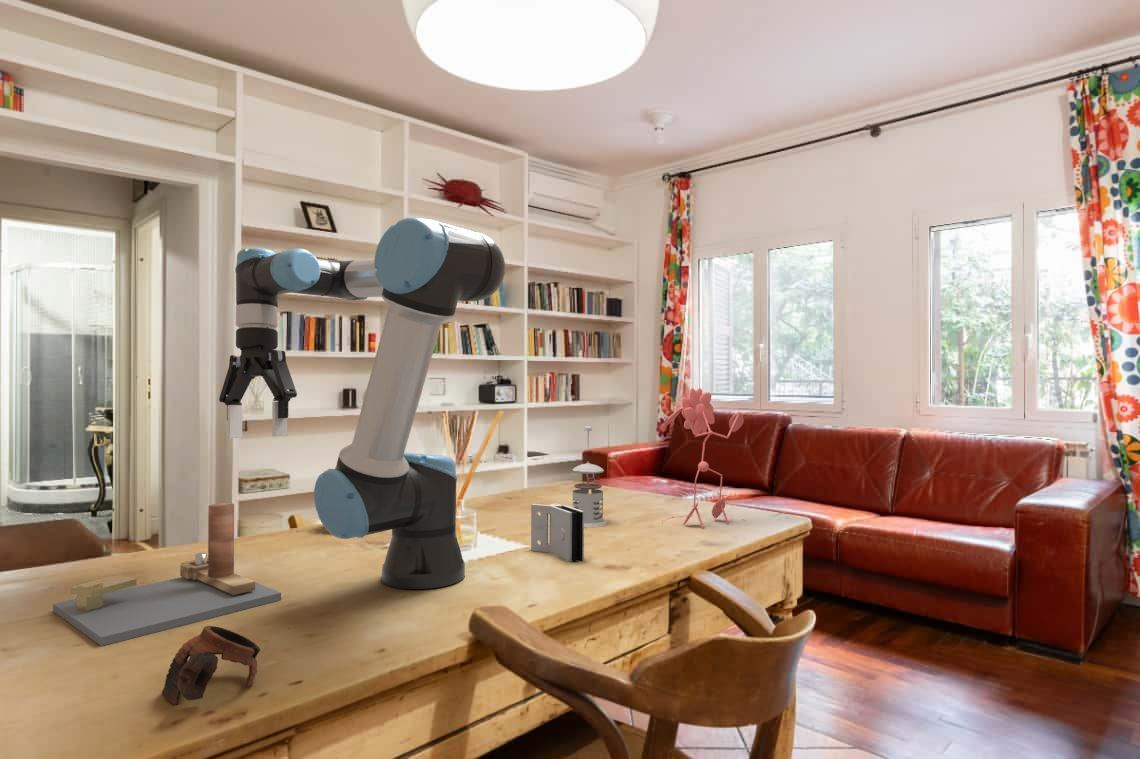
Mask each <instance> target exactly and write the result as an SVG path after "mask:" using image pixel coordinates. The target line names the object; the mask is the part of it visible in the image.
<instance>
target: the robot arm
mask: <svg viewBox="0 0 1140 759" xmlns="http://www.w3.org/2000/svg"><path fill="white" fill-rule="evenodd" d="M234 271H235V272H234V273H235V300H236V301H235V304H236V305H235V326H236V327H237V329H236V330H235V347H236V348H237V349H240V352H241V353H240V355H234V354H232V355H230V356H229V364H228V368H227V372H226V375H225V378H224V382H223V385H222V388H221V391H220V395H219V398H218V400H219V402H220V403H224V404H225V406H226V422H227V429H226V430H227V432H226V433H227V435H226V436H227V439H241V438H243V403H242V402H241V401H242V399H243V397H244V396H245V394H246V392H247V389H248V387H249V385H250V384H251V381H252V380H255V378H256V377H262V378H263V381H264V382H265V383H266V386H267V387H268V388H269V391H270V392H271V393H272V396H273V399H272V403H271V404H272V406H271V407H272V411H271V412H272V413H271V415H272V417H271V419H272V420H271V421H272V422H271V423H272V425H271V427H272V428H271V430H272V431H271V432H272V433H271V434H272V437H287V436H288V418H289V402H290V401H291V400H292V398H296V397H297V396H298V392H297V389H296V387H295V384H294V381H293V378H292V376H291V373H290V370H289V366H288V364H287V357H286V352H285V350H279V349H277V348H278V346H279V333H278V330H277V329H276V328H278V325H279V324H278V307H279V306H278V304H279V301H278V300H279V299H278V297H279V296H281V295H285V294H299V295H300V294H302V295H309V296H317V297H328V298H336V299H344V300H346V301H365V300H368V298H377V297H378V298H379V297H381V298H382V300H383V301H384V304H386V306H387V311H386V316H385V319H384V320H385V321H384V323H383V326H382V327H383V328H382V331H381V335H380V338H379V342H378V346H377V348H376V352H375V353H376V354H375V357H374V360H373V364H372V368H371V372H370V376H369V379H368V382H367V387H366V390H365V395H364V398H363V401H362V406H361V410H360V413H359V417H358V420H357V424H356V428H355V431H354V435H353V437H352V438H353V439H352V443H350V444H349V445H347V446H345V447H343V448H342V449H341V450H339V453H338V454H339V455H338V458H337V461H336V464H335V465H336V466H335V468H328V469H327V470H324V471H323V472H322V473H320V474H319V475H318V477H317V479H316V481H315V484H314V490H313V498H314V499H313V501H314V507H315V510H316V512H317V515H318V518H319V521H320V522H321V524H322V526H323V527H324V528H325V530H326V531H327V532H328V533H329V534H331V536H334V537H336V538H338V539H342V540H347V539H353V538H360V539H361V538H364V537H365V536H370V535H372V534H378V533H383V532H386V531H390V530H391V538H390V542H389V546H388V549H387V552H386V556H385V560H384V563H383V564H382V567H381V581H382V583H383V584H384V585H386V586H388V587H392V588H396V589H397V588H398V589H404V590H405V589H407V590H428V589H435V588H442V587H448V586H452V585H454V584H456V583H458V582H460V581H462V580H463V579H465V577H466V563H465V560H464V559H463V555H462V554H463V553H462V552H461V548H460V544H459V542H458V538H457V535H456V534H457V533H456V532H457V530H456V525H457V524H456V522H457V520H456V519H457V481H458V477H457V470H456V463H455V461H454V459H453V458H452V457H450V456H446V455H436V454H435V455H434V454H426V453H425V454H424V453H410V452H406V448H407V444H408V441H409V437H410V435H411V434H410V433H411V430H412V426H413V424H414V420H415V416H416V413H417V409H418V407H419V402H420V399H421V396H422V392H423V388H424V387H425V386H424V385H425V382H426V379H427V374H428V371H429V369H430V364H431V361H432V358H433V354H434V350H435V349H436V348H435V347H436V344H437V341H438V336H439V334H440V330H441V326H442V324H443V323H445V322H446V321H448V320H451V319H452V318H454V316H455V312H456V308H457V305H458V302H460V301H461V302H479V301H483V300H485V299H487V298H489V297H491V296H493V295H494V294H495V293H496V292H497V291H498V289H499V288H500V287H501V285H502V283H503V281H504V278H505V273H506V272H505V271H506V263H505V257H504V255H503V252H502V251H501V248H500V247H499V246H498V244H496V242H495V241H494V240H493V239H492V238H490V237H489V236H487V235H485V234H484V233H481V232H478V231H474V230H469V229H465V228H461V227H458V226H455V225H451V224H447V223H443V222H440V221H437V220H434V219H430V218H422V217H421V218H420V217H406V218H402V219H400V220H398V221H397V222H396V223H395V224H392V225H390V226H389V228H388V229H387V230H386V231H385V232H384V233H383V234H382V236H381V238H380V240H379V242H378V245H377V246H376V249H375V254H374V257H373V258H363V259H362V258H361V259H355V260H336V259H329V258H324V257H319V256H315V255H314V254H313V253H311V252H310V251H309V250H307V249H304V248H293V249H292V248H290V249H286V250H282V251H280V252H278V253H275V252H274V250H271V249H268V248H259V247H251V248H242V249H241V250H239V251H238V252H237V255H236V265H235V270H234ZM276 349H277V350H276Z"/></svg>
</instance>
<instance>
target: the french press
mask: <svg viewBox="0 0 1140 759" xmlns="http://www.w3.org/2000/svg"><path fill="white" fill-rule="evenodd" d="M592 428H593V427H591V426H590V425H586V426H585V427H584V431H587V447H589V436H590V435H589V434H590V431H593V430H592ZM571 471H573V472H574V473H575V474H583V475H586V478H587V479H586V480H587V482H586V483H585V482H583V483H582V482H581V483H580V482H579V483H576V484H573V486H574V488H575V490H572V507H573V508H576V509H579V510H582V511H584V528H599V527H603V526H606V525H607V524H608V523H607V522H606V520H605V519H604V491H603V490H601V488H603V486H602V484H600V483H596V479H595V474H601V473H604V472H605V470H604V468H602V467H601V466H599V465H597V464H593V463H590V462H586V463H582V464H579V465H577V466H575V467H573V469H572V470H571ZM589 474H590V475H592V477H589ZM591 479H593V483H590V480H591ZM589 491H591V492H590V493H589Z"/></svg>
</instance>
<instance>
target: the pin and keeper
mask: <svg viewBox="0 0 1140 759" xmlns="http://www.w3.org/2000/svg"><path fill="white" fill-rule="evenodd" d="M194 558H195V559H194V560H195V566H199V565H204V564H207V558H208V552H199V553H196V554H195V556H194ZM137 583H138V581H137V578H133V577H129V576H123V575H120V574H119V575H118V574H116V575H112V576H108V577H104V578H99V579H97V580H91V581H88V582H84V583H79V584H77V585H73V586H71V587H70V593H71V594H72V595H76V599H77V610H80V611H84V612H88V611H92V610H95V609H98V608H102V607H103V594H106V593H110V592H113V591H117V590H122V589H127V588H132V587H136V586H137Z"/></svg>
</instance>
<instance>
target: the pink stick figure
mask: <svg viewBox="0 0 1140 759" xmlns="http://www.w3.org/2000/svg"><path fill="white" fill-rule="evenodd" d="M711 400H712V393H710V392H704V393H703V390H702V388H701V387H699V388H697V389H695V388H694V387H691V388H690V389H689V392H688V397H682V400H681V402H682V406H681V407H679V408H678V409H676V410H675V411H674V412H673V413H672V414H671V415H669V417H668V418H667V419H666V420H665V422H663V424H662V426H660V430H662V429H664V428H666V427H667V426H668V425H669V424H671V423H672V422H673V421H674V420H675V419H676V418H677V417H678V415H679V414H680V413H681V415H682V417H683V418H684V419H685V421H684V424H683V428H684V429H686V430H691V432H692V435H694V438H697V437H701V436H705V435H707V436H706V437H705V438H704V439H703V442H702V452H701V461H700V462H699V463H698V464H697V469H698V470H697V472H696V475H695V479H694V487H693V488H694V490H693V492H694V493H693V494H694V496H693V504H692V508H691V509H690V512H689V513H688V514H687V515H686V518H685V520H684V522H683V525H684V526H685V525H686V524H687V522H688V521H689V520H690V518H691V517H693V516H694V515H693V514H694V513H695V512H696V516H697V518H698V521H699V523H700V526H701V529H705V526H704V522H703V521H702V518H701V515H700V512H699V510H698V506H699V503H698V502H696V497H697V496H696V495H697V494H696V492H697V479H698V476H699V473H700V472H702V473H705V472H708V471H710V472H712V473H714V474H717V475H719V476H720V484H719V497H718V500H717V501H716V502H715V503H714V505H713V507H712V509H711V515H712V516H713V518H714V519H717V518H718V517H719V516H721V514H723V517H724V519H725V520H724V521H725V524H726V525H729V524H730V522H729V519H728V517H727V514H726V512H725V509H726V502H725V501H726V500H724V499H722V488H723V487H722V486H723V474H721V473H719V472H717V471H715V470H713V469H711V468H710V465H709V463H708V462H707V461H705V460H704V457H705V450H706V449H705V448H706V442H707V441H708V439H709V438H710V436H712V435H715V436H718V437H721V438H724V439H727V440H728V439H729V438H730V437H731V434H732V432H733V433H736V432H737V431H738V430H739V429H740V428H741V427H742V426H743V425H744V423H745V422H744V421H745V419H744V415H743V414H742V413H741V412H740V411H738V412H736V413H734V414H733V415H732V416H731V417H730V419H729V422H728V425H729V426H728V427H729V431H728V434H727V435H724V434H720V433H718V432H714V431H713V430H712V429H711V427H710V425H714V424H715V422H716V421H715V420H716V419H715V415H714V413H713V411H714V406H713V405H712V404H711V403H710V402H711ZM707 430H708V431H707ZM679 517H680V518H681V517H682V518H683V517H684V515H679V516H678V515H677V518H679ZM673 518H674V519H675V518H676V516H672V517H668V518H666V519H663V521H661V522H662V524H663V523H664V522H665V521H667V520H669V519H673ZM741 520H742V521H745V522H746V521H747V520H746V519H743V518H742V519H741Z"/></svg>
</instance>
